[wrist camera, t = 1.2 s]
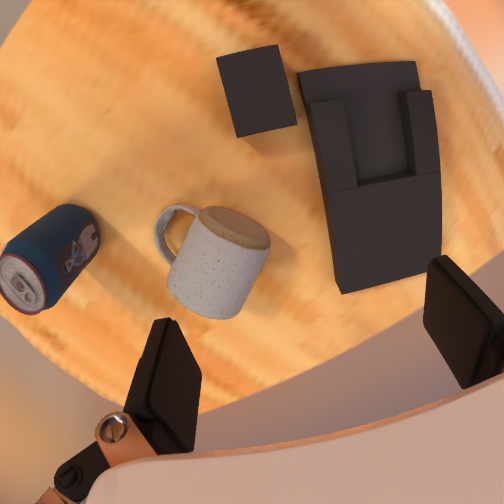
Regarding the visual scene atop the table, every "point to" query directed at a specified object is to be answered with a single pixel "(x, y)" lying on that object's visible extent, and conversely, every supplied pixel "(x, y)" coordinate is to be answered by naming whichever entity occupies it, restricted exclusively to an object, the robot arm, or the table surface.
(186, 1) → the table surface
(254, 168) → the table surface
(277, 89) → the loose pad
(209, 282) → the ceramic mug
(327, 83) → the pad base
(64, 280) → the soda can
